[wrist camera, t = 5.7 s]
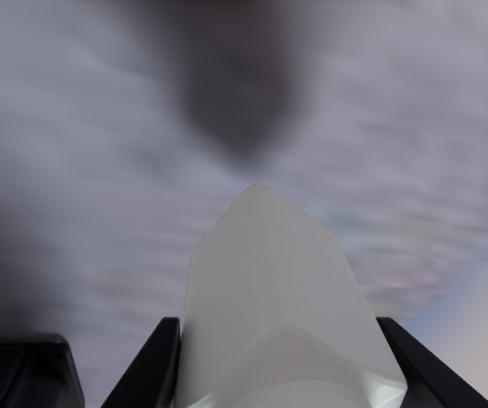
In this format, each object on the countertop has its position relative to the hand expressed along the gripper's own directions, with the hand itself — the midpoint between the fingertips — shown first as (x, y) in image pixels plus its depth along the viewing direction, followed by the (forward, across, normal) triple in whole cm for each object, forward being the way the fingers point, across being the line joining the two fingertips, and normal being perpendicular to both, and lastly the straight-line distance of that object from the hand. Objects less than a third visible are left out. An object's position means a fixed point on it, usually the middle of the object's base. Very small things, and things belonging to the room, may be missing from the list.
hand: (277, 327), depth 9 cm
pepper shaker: (+4, 0, 0) cm, 4 cm away
